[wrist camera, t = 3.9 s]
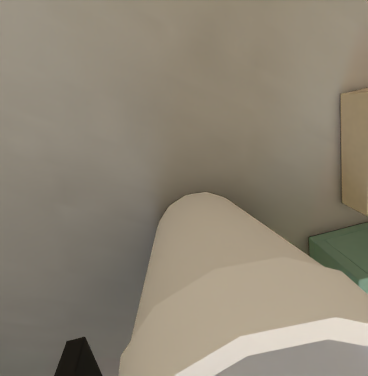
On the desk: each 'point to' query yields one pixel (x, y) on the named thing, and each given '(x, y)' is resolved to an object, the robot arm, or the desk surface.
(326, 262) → the basin
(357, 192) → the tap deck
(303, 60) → the desk surface
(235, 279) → the foam cup
